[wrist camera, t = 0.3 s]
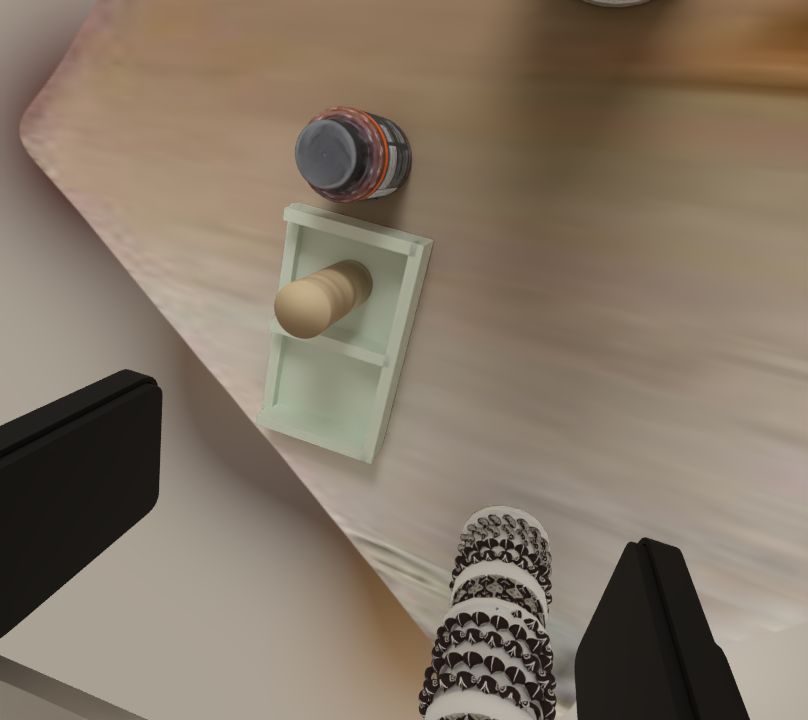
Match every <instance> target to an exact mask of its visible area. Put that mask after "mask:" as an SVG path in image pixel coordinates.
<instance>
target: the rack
mask: <svg viewBox="0 0 808 720" xmlns="http://www.w3.org/2000/svg"><path fill="white" fill-rule="evenodd" d="M283 220H286V221H288V225H287V232H286V239H285V247H284V254H283V261H282V268H281V275H280V283H279V290H278V292H279V291H280V290H281V289H282V288H283V287H284V286H285V285H287V284H289V283H292V282H294V281H296V280H298V279H301V278H303V277H305V276H308V275H310V274H312V273H315V272H317V271H319V270H322V269H324V268H326V267H328V266H331V265H333V264H335V263H338V262H340V261H343V260H348V259H350V260H355V261H358V262H360V263H362V264H363V265H364V266H365V267H366V268H367V269H368V270H369V272H370V274H371V277H372V280H373V288H372V292H371V295H370V296H369V298H368V299H367V300H366V301H365V302H364V303H362V304H361V305H359V306H358V307H357V308H355V309H354V310H352V311H351V312H350V313H348V314H347V315H345V316H344V317H343V318H341V319H340V320H338V321H337V322H336V323H334V324H333V325H331V326H330V327H329V328H327V329H326V330H324V331H323V332H322V333H320V334H319V335H317V336H315V337H313V338H309V339H300V338H297V337H294V336H292V335H290V334H289V333H287V332H286V331H285V330H284V329H283V328H282V327H281V325H280V324H279V322H278V320H277V318H276V315H275V317H273V318H271V319H270V321H269V328H268V330H270V331H273V333H272V340H271V347H270V354H269V361H268V369H267V376H266V383H265V390H264V397H263V404H262V411H261V412H259V413H258V414H257V416H256V424H257V425H260V426H263V427H266V428H269V429H272V430H274V431H277V432H280V433H283V434H286V435H289V436H292V437H294V438H297V439H300V440H303V441H306V442H309V443H311V444H314V445H317V446H320V447H323V448H326V449H329V450H331V451H334V452H337V453H340V454H343V455H346V456H349V457H351V458H354V459H357V460H360V461H363V462H366V463H368V464H371V463H372V462H373V460H374V458H375V457H376V455H377V453H378V452H379V450H380V448H381V447H382V445H383V442H384V438H385V434H386V430H387V426H388V422H389V418H390V414H391V410H392V406H393V402H394V398H395V394H396V390H397V386H398V382H399V378H400V374H401V370H402V366H403V362H404V358H405V354H406V350H407V346H408V342H409V338H410V334H411V330H412V326H413V322H414V318H415V314H416V310H417V306H418V302H419V298H420V294H421V290H422V286H423V282H424V278H425V274H426V270H427V266H428V262H429V258H430V254H431V250H432V246H433V242H434V240H432V239H428V238H424V237H421V236H417V235H414V234H410V233H406V232H403V231H399V230H396V229H392V228H388V227H385V226H381V225H378V224H374V223H370V222H367V221H363V220H360V219H356V218H352V217H349V216H345V215H342V214H338V213H334V212H331V211H327V210H324V209H320V208H316V207H313V206H309V205H306V204H302V203H295V204H290V206H289V207H285V210H284V217H283Z"/></svg>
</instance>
